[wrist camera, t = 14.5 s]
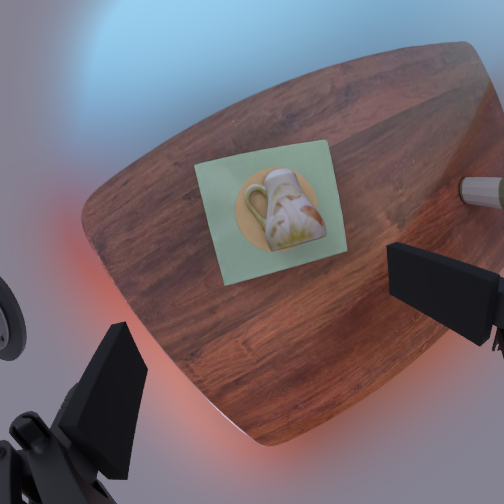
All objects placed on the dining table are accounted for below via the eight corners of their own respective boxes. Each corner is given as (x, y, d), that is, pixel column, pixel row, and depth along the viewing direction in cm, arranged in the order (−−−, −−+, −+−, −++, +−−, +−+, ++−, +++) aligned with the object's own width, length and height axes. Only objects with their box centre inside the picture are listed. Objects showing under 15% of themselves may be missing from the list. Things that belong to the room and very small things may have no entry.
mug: (295, 159, 34) (348, 191, 27) (288, 222, 40) (330, 262, 33) (242, 165, 31) (288, 201, 24) (241, 233, 37) (278, 280, 30)
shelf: (195, 170, 39) (193, 164, 32) (308, 147, 41) (327, 139, 34) (221, 271, 43) (225, 286, 36) (327, 242, 45) (348, 251, 38)
